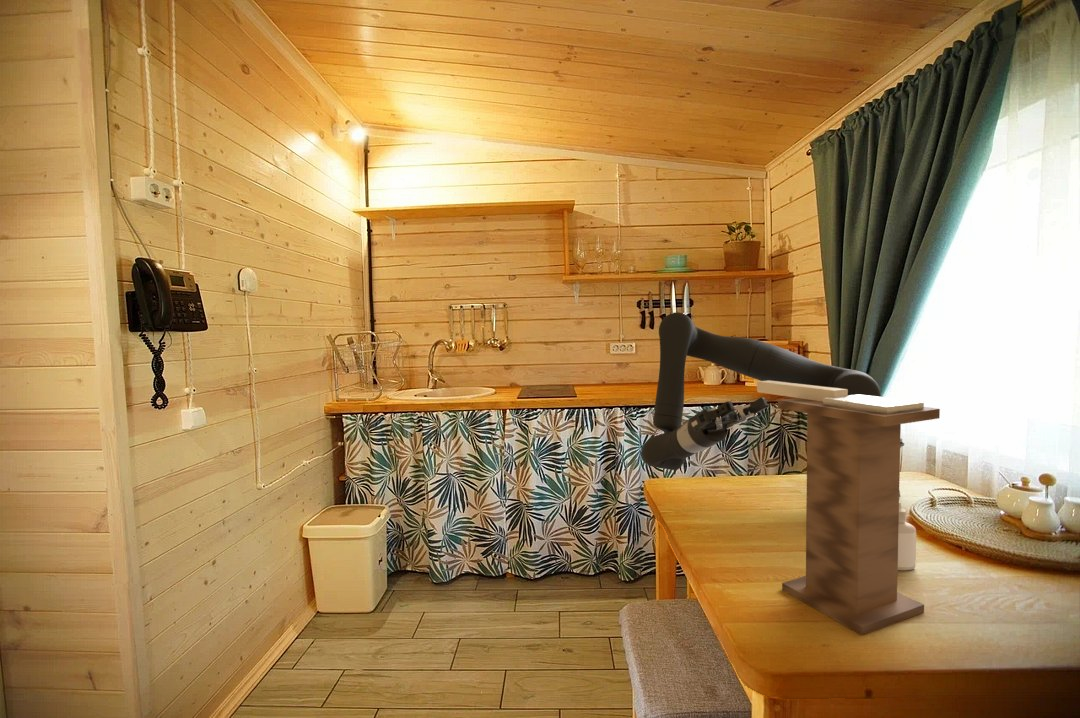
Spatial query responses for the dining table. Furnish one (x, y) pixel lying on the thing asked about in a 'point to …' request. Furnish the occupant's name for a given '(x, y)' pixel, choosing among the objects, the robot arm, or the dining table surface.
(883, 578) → the shelf stand
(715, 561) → the dining table surface
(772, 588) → the dining table surface
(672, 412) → the robot arm
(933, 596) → the dining table surface
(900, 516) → the eye dropper bottle
